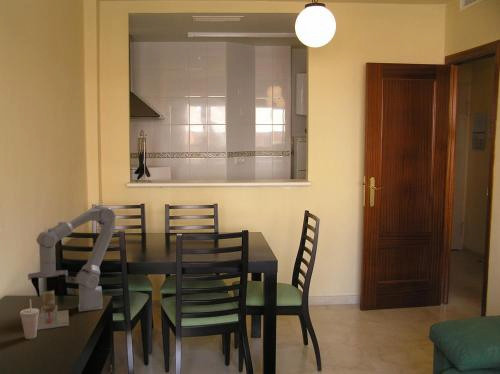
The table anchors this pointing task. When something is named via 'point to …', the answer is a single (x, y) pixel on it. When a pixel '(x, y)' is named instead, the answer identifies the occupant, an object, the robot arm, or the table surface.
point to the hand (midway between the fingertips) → (49, 294)
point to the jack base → (52, 318)
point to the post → (48, 300)
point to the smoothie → (30, 321)
